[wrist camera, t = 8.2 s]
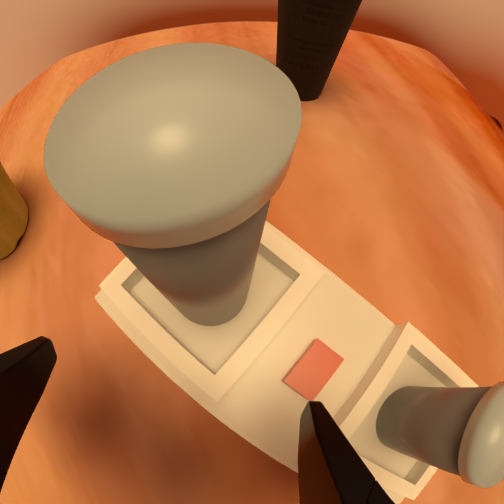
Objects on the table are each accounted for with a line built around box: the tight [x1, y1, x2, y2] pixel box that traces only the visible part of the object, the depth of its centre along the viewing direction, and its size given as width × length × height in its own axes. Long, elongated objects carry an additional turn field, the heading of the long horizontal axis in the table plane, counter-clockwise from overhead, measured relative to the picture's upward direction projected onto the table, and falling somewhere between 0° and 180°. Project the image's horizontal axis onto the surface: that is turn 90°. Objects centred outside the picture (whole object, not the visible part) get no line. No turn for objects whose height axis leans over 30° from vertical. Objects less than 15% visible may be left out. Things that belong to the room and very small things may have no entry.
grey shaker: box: [44, 43, 302, 326], centre depth 10 cm, size 5×5×13 cm
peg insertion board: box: [94, 221, 504, 504], centre depth 12 cm, size 11×25×10 cm, turn 50°
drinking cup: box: [276, 0, 362, 101], centre depth 17 cm, size 8×8×20 cm
